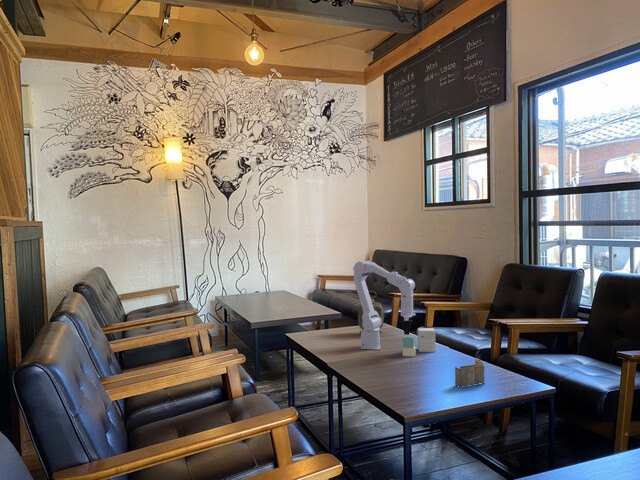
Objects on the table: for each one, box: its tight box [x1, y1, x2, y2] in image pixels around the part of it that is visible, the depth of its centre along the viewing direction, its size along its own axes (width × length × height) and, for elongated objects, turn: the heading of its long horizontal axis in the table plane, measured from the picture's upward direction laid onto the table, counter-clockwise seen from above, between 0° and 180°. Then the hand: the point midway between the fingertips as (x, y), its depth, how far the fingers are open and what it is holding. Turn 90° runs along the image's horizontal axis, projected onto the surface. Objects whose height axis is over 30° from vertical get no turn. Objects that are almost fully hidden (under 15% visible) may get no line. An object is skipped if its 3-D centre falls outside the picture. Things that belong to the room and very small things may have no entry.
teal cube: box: [402, 334, 415, 349], centre depth 217 cm, size 5×5×5 cm
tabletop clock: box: [357, 290, 385, 334], centre depth 257 cm, size 14×9×25 cm, turn 85°
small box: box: [417, 327, 437, 353], centre depth 224 cm, size 8×6×10 cm
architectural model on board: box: [454, 358, 485, 388], centre depth 175 cm, size 11×3×10 cm, turn 108°
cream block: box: [402, 344, 417, 357], centre depth 217 cm, size 6×6×4 cm
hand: (407, 332), depth 218 cm, fingers open, 7 cm apart
